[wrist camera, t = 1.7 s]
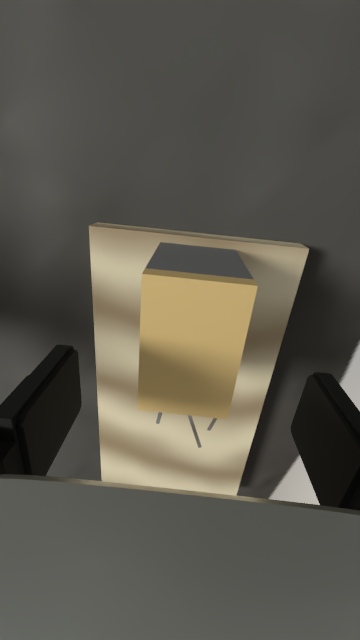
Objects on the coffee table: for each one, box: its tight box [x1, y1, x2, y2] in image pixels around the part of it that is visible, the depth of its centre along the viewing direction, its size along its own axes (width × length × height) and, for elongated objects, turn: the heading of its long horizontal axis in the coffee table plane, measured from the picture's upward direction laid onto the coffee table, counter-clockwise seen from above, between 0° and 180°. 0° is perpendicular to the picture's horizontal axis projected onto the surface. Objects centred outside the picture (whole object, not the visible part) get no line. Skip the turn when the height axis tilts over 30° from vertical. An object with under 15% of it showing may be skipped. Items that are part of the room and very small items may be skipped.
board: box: [89, 222, 309, 496], centre depth 22 cm, size 24×13×2 cm, turn 175°
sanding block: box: [137, 242, 258, 419], centre depth 15 cm, size 7×4×6 cm, turn 175°
